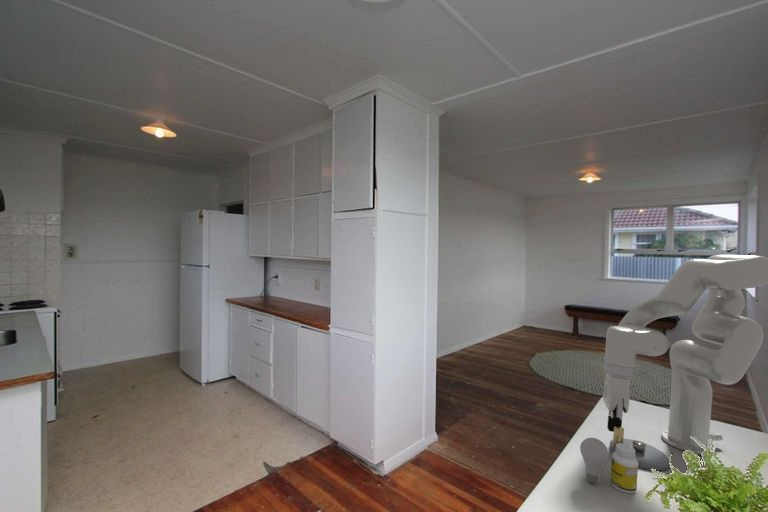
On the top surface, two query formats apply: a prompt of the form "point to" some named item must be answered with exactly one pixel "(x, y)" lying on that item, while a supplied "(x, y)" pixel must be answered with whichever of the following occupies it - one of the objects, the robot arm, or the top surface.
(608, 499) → the top surface
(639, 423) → the top surface
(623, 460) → the supplement bottle
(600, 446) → the lightbulb
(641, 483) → the top surface
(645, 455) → the dial plate
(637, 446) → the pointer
